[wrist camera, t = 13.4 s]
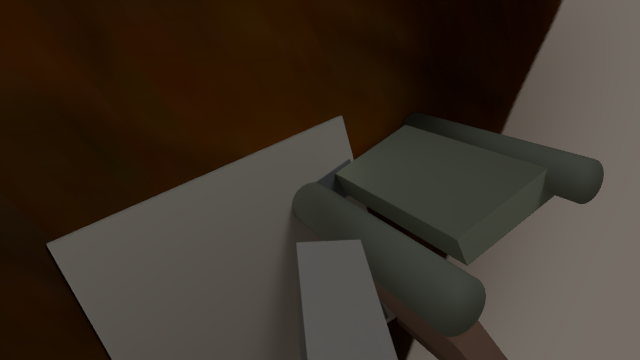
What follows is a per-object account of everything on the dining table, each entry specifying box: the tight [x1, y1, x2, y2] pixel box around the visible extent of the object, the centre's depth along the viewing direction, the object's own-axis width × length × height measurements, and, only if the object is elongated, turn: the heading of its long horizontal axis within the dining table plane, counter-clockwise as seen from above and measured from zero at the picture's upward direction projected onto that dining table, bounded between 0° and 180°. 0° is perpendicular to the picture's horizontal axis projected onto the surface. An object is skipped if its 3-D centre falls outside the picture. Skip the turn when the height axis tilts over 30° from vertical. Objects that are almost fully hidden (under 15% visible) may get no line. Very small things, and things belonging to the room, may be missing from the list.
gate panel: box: [373, 280, 508, 360], centre depth 35 cm, size 13×2×15 cm, turn 38°
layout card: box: [47, 116, 396, 360], centre depth 38 cm, size 20×18×1 cm
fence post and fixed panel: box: [292, 112, 604, 337], centre depth 32 cm, size 12×3×16 cm, turn 117°
